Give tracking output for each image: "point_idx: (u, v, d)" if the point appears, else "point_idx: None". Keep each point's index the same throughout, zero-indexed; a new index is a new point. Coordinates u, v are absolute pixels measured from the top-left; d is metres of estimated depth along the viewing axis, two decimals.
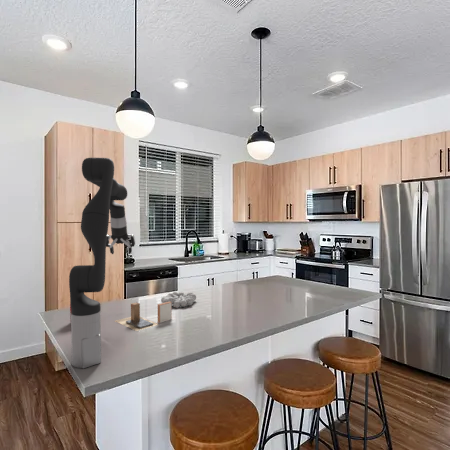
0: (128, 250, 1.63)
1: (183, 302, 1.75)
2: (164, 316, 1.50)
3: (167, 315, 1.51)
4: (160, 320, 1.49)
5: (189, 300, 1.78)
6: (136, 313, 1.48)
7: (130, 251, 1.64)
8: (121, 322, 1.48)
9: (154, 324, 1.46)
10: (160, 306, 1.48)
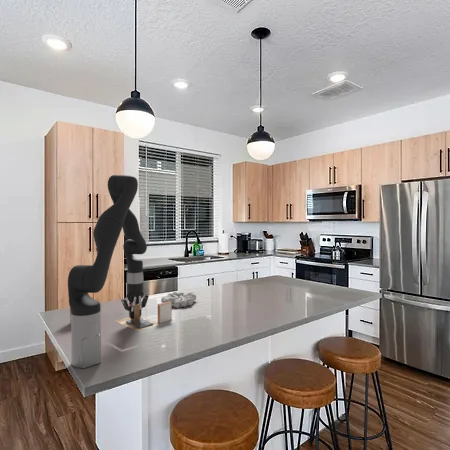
0: None
1: (183, 302, 1.75)
2: (164, 316, 1.50)
3: (167, 315, 1.51)
4: (160, 320, 1.49)
5: (189, 300, 1.78)
6: (136, 313, 1.48)
7: (140, 314, 1.50)
8: (121, 322, 1.48)
9: (154, 324, 1.46)
10: (160, 306, 1.48)
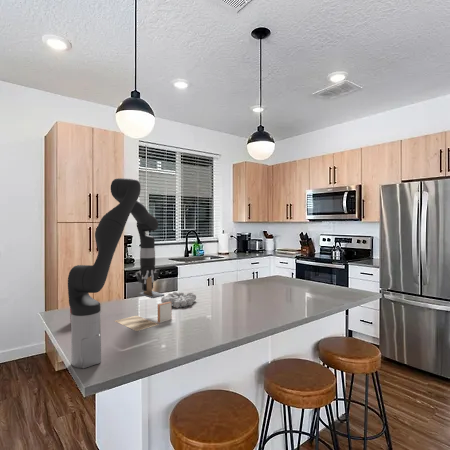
0: None
1: (183, 302, 1.75)
2: (164, 316, 1.50)
3: (167, 315, 1.51)
4: (160, 320, 1.49)
5: (189, 300, 1.78)
6: (148, 285, 1.60)
7: (152, 286, 1.62)
8: (121, 322, 1.48)
9: (154, 324, 1.46)
10: (160, 306, 1.48)
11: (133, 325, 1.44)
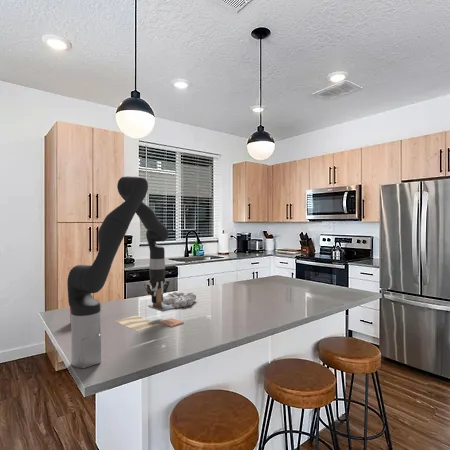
0: None
1: (183, 302, 1.75)
2: None
3: None
4: None
5: (189, 300, 1.78)
6: (158, 297, 1.54)
7: (162, 299, 1.56)
8: (121, 322, 1.48)
9: (154, 324, 1.46)
10: None
11: (133, 325, 1.44)
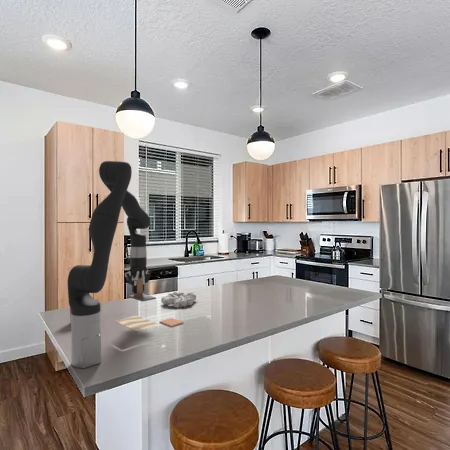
0: None
1: (183, 302, 1.75)
2: None
3: None
4: None
5: (189, 300, 1.78)
6: (139, 287, 1.47)
7: (143, 289, 1.50)
8: (121, 322, 1.48)
9: (154, 324, 1.46)
10: None
11: (133, 325, 1.44)
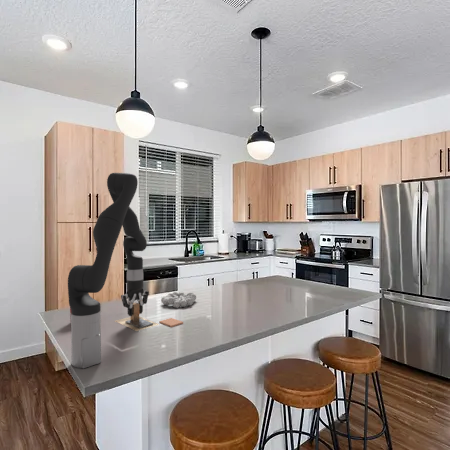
0: (140, 309, 1.50)
1: (183, 302, 1.75)
2: None
3: None
4: None
5: (189, 300, 1.78)
6: (136, 313, 1.48)
7: (142, 310, 1.51)
8: (121, 322, 1.48)
9: (154, 324, 1.46)
10: None
11: None
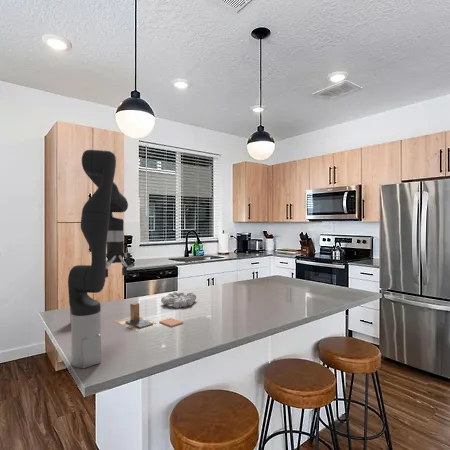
0: (124, 270, 1.46)
1: (183, 302, 1.75)
2: None
3: None
4: None
5: (189, 300, 1.78)
6: (136, 313, 1.48)
7: (126, 271, 1.47)
8: (121, 322, 1.48)
9: (154, 324, 1.46)
10: None
11: None
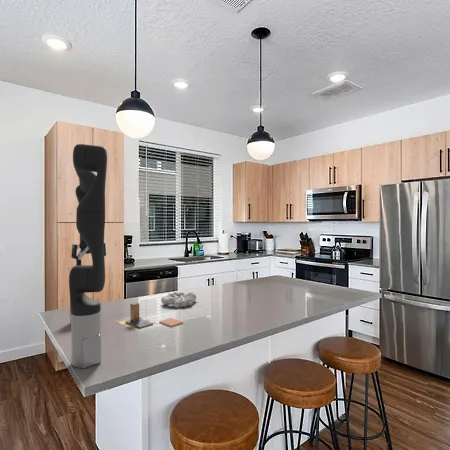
0: None
1: (183, 302, 1.75)
2: None
3: None
4: None
5: (189, 300, 1.78)
6: (136, 313, 1.48)
7: None
8: (121, 322, 1.48)
9: (154, 324, 1.46)
10: None
11: None
